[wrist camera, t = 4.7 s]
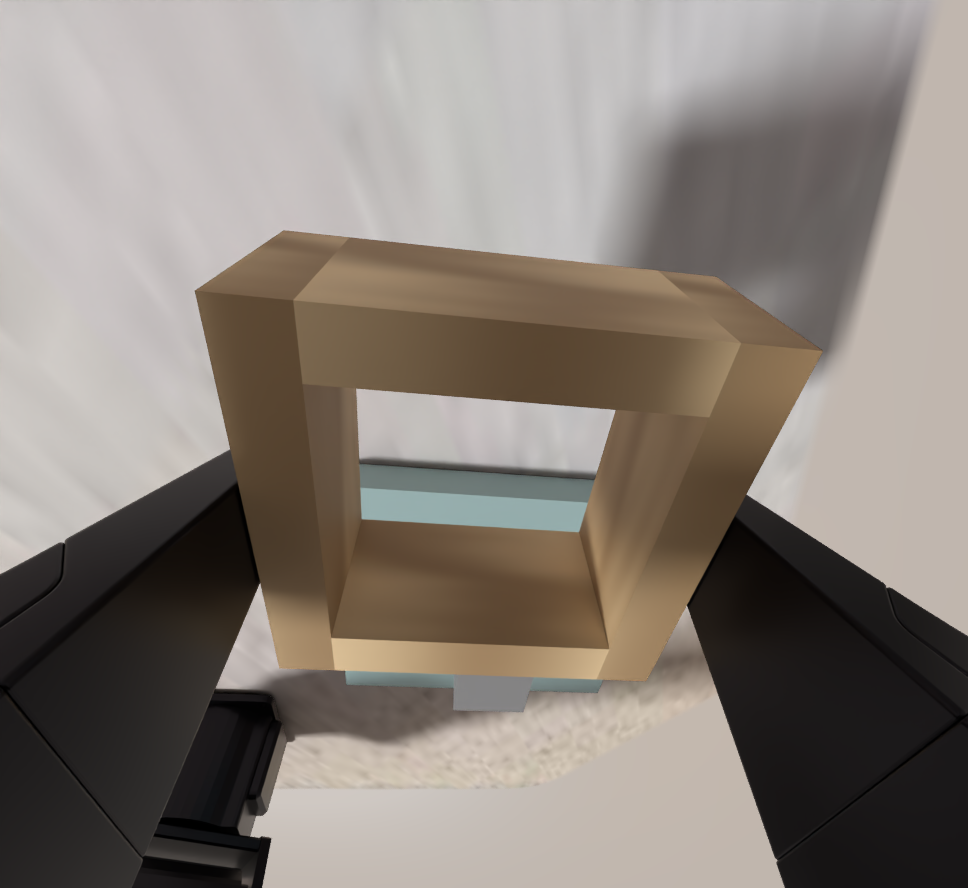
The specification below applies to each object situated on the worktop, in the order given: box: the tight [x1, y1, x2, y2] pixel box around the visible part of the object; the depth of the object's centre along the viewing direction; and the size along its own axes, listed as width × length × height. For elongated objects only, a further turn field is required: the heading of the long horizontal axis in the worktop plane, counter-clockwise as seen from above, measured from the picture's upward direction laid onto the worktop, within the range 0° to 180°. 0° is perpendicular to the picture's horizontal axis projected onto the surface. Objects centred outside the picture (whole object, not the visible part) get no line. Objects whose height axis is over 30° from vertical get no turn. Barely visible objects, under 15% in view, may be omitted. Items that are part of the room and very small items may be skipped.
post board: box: [345, 464, 603, 712], centre depth 22 cm, size 14×14×6 cm
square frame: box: [195, 231, 823, 681], centre depth 9 cm, size 7×7×3 cm
